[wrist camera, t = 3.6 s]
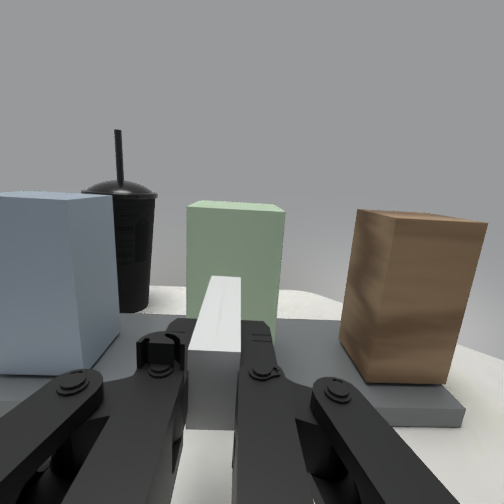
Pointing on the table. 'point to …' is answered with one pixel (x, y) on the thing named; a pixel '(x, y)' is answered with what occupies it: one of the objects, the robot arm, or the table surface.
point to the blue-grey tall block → (56, 281)
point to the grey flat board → (288, 358)
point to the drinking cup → (130, 234)
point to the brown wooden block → (408, 293)
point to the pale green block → (236, 255)
